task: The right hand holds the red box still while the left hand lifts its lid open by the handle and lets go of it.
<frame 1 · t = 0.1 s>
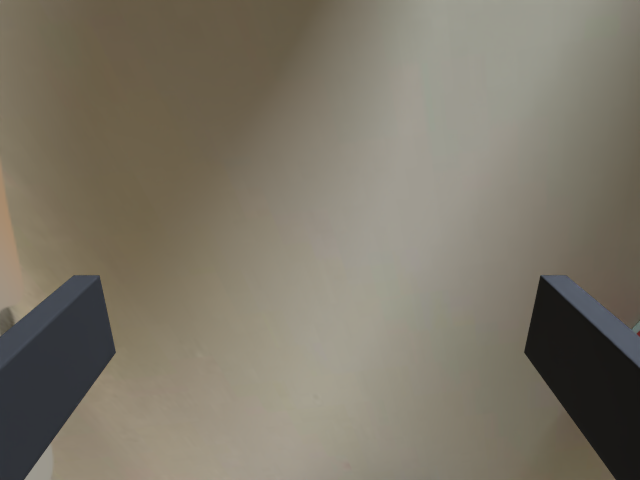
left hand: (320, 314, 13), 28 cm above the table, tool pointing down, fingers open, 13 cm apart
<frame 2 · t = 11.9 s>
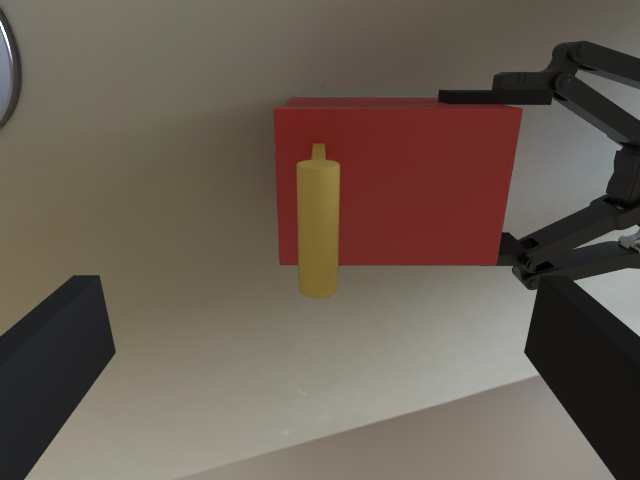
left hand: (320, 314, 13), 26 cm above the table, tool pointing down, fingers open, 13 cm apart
right hand: (435, 175, 30), fingers closed on red box, 10 cm apart
red box: (373, 156, 37), on the table, touching right hand
lid: (401, 207, 23), point 15 cm above the table, hinge at 0.0°
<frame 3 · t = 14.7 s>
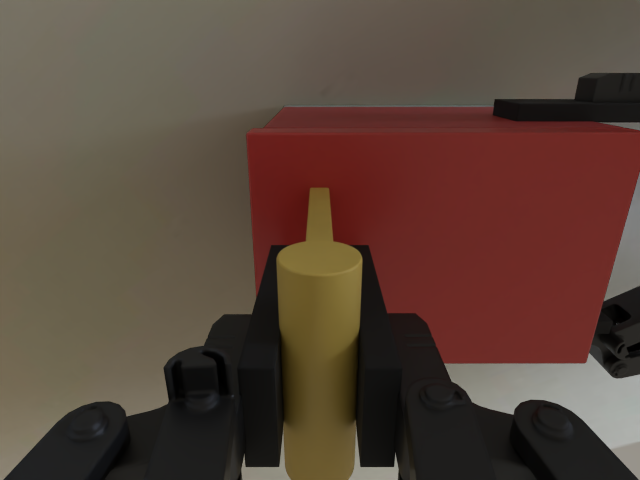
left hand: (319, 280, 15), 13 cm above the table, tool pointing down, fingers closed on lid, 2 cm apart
red box: (392, 184, 28), on the table, touching right hand
lid: (458, 300, 14), point 15 cm above the table, hinge at 0.3°, touching left hand
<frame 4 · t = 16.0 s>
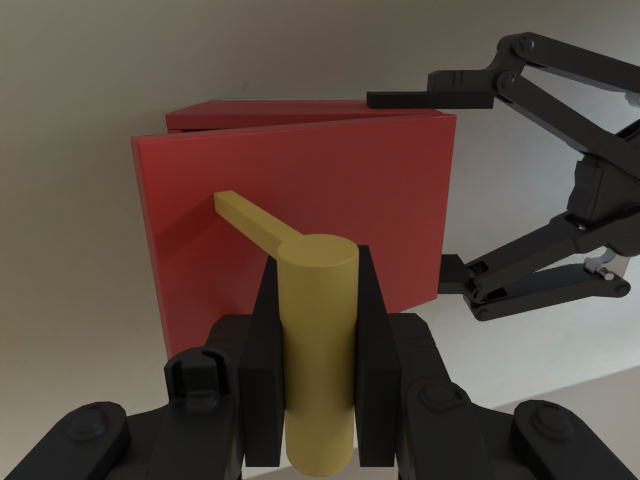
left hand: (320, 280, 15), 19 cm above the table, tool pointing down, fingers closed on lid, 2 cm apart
right hand: (365, 190, 26), fingers closed on red box, 10 cm apart
red box: (309, 166, 32), on the table, touching right hand
lid: (374, 269, 16), point 18 cm above the table, hinge at 31.1°, touching left hand
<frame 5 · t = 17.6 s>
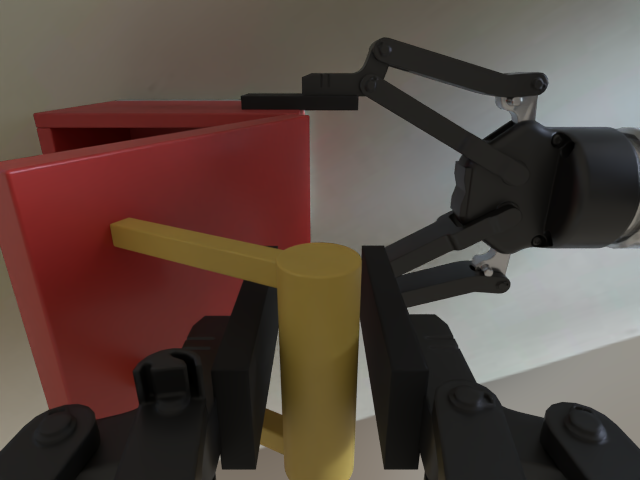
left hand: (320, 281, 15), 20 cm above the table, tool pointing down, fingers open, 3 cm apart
right hand: (250, 188, 27), fingers closed on red box, 10 cm apart
red box: (218, 165, 33), on the table, touching right hand
lid: (293, 273, 16), point 19 cm above the table, hinge at 62.3°
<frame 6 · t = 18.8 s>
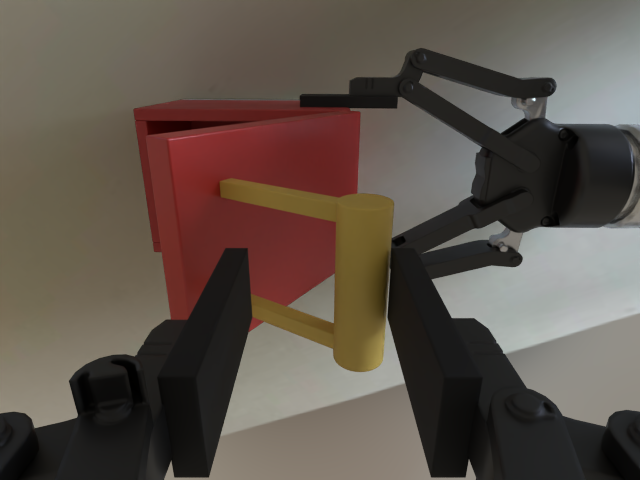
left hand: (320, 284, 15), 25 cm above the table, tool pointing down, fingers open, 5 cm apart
right hand: (301, 174, 32), fingers closed on red box, 10 cm apart
red box: (265, 157, 38), on the table, touching right hand
lid: (343, 230, 21), point 19 cm above the table, hinge at 56.6°
when the right hand's fingers open (7 cm above the table, at t = 21.5 s): red box stays where it is, on the table.
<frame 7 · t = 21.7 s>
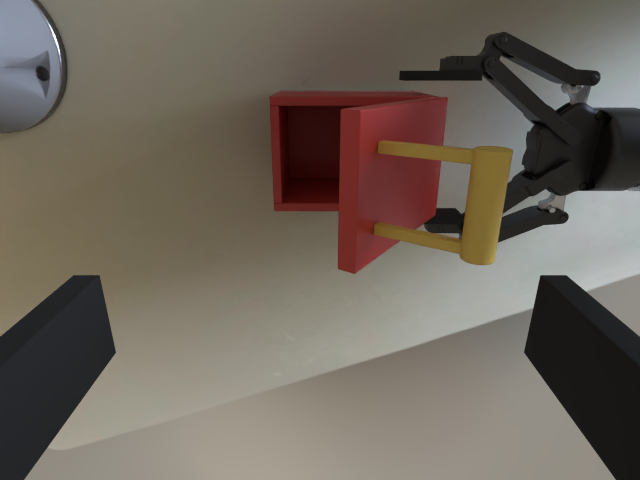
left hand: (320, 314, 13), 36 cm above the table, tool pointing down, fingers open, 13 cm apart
right hand: (396, 150, 40), fingers open, 12 cm apart
red box: (345, 138, 46), on the table
lid: (450, 181, 28), point 19 cm above the table, hinge at 55.8°
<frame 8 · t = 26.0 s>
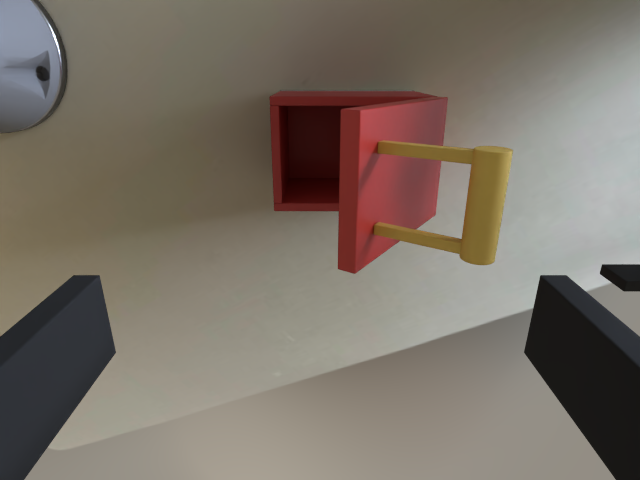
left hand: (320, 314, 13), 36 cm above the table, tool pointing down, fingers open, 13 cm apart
red box: (345, 138, 46), on the table
lid: (450, 181, 28), point 19 cm above the table, hinge at 55.8°
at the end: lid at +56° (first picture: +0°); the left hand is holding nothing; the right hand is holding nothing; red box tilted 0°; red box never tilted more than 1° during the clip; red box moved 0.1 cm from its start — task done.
